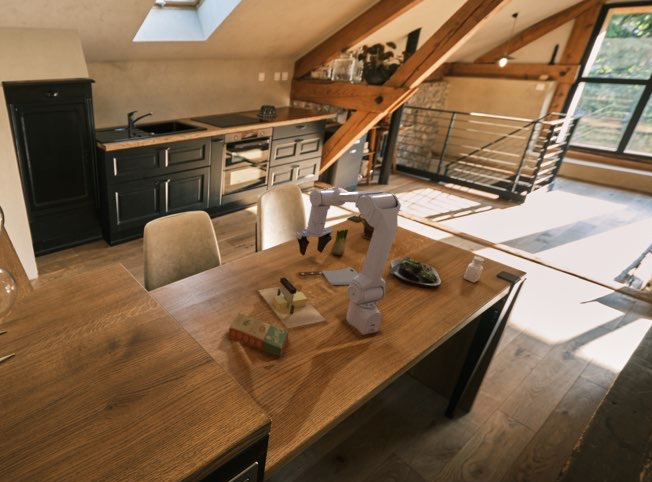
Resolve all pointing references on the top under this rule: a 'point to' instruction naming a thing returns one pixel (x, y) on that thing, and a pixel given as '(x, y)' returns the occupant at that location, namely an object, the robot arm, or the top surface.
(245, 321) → the carton
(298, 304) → the butter block
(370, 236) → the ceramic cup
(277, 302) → the butter slice
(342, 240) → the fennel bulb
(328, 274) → the kitchen cleaver
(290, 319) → the board
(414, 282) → the salad plate
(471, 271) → the pepper shaker
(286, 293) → the dough scraper
